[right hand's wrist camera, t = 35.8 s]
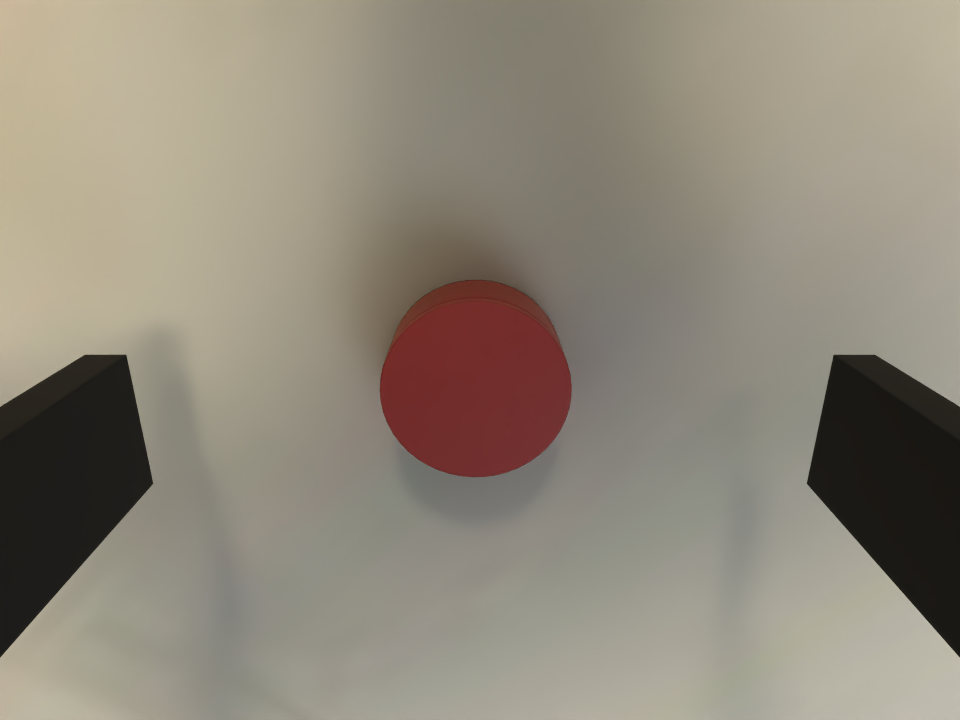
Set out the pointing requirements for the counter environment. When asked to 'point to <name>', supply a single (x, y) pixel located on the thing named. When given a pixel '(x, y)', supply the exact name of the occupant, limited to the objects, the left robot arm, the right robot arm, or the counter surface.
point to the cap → (475, 380)
